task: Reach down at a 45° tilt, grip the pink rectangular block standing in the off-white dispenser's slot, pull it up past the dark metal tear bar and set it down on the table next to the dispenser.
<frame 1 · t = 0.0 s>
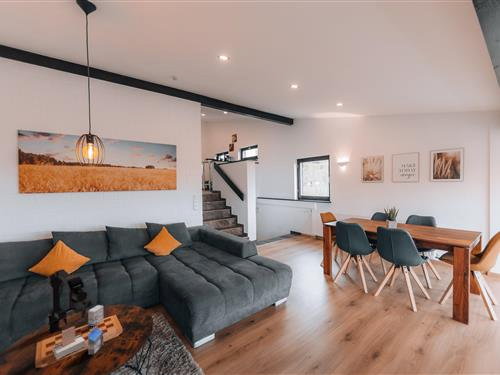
hand: (74, 321, 149), 15 cm above the table, tool pointing down, fingers open, 9 cm apart
dispenser: (68, 349, 144), on the table
ink box: (96, 324, 170), on the table
label tape cartridge: (96, 349, 145), on the table
pink rectangular block: (68, 349, 144), resting in dispenser
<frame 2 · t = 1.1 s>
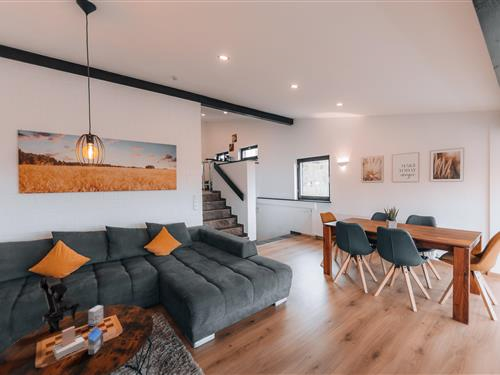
hand: (65, 324, 148), 13 cm above the table, tool tilted 45°, fingers open, 9 cm apart
nothing on the table moved.
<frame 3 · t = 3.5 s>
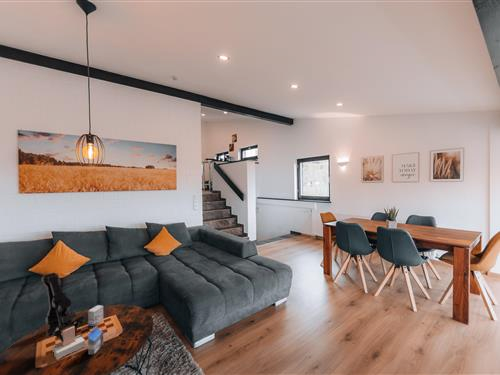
hand: (69, 339, 143), 7 cm above the table, tool tilted 45°, fingers closed on pink rectangular block, 6 cm apart
pink rectangular block: (68, 349, 144), resting in dispenser, touching gripper
everything else where it was.
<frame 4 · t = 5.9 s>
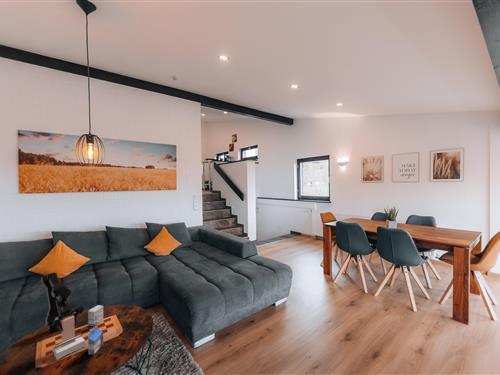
hand: (68, 328, 144), 13 cm above the table, tool tilted 45°, fingers closed on pink rectangular block, 6 cm apart
pink rectangular block: (68, 339, 145), point 6 cm above the table, touching gripper
everything else where it was.
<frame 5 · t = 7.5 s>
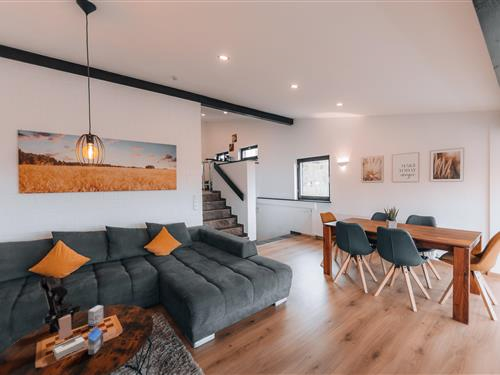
hand: (65, 327, 147), 12 cm above the table, tool tilted 45°, fingers closed on pink rectangular block, 6 cm apart
pink rectangular block: (65, 337, 149), point 5 cm above the table, touching gripper
everything else where it was.
when the fingers open (9 cm above the table, at t = 8.6 s): pink rectangular block drops 1 cm, on the table.
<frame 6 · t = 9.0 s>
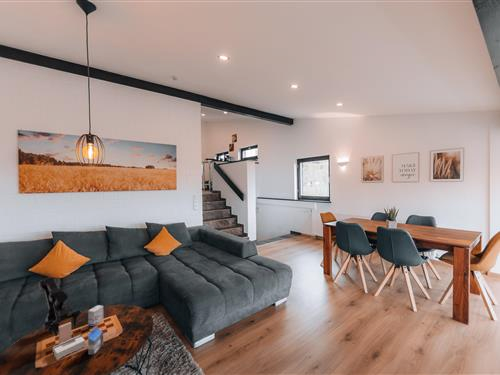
hand: (65, 332, 148), 9 cm above the table, tool tilted 45°, fingers open, 9 cm apart
pink rectangular block: (65, 344, 149), on the table
everything else where it was.
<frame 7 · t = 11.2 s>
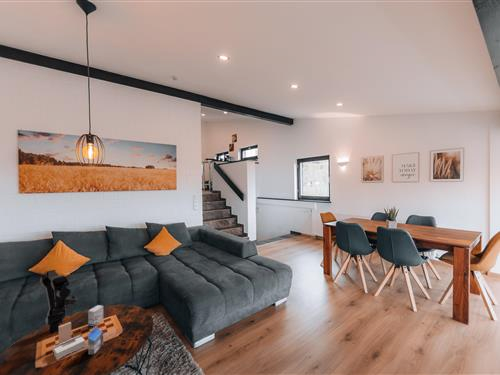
hand: (62, 320, 152), 13 cm above the table, tool pointing down, fingers open, 9 cm apart
nothing on the table moved.
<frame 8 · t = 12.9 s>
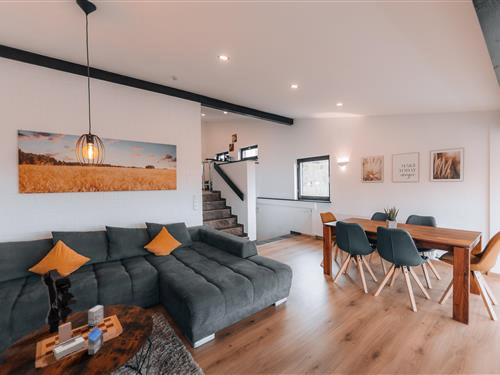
hand: (62, 320, 153), 13 cm above the table, tool pointing down, fingers open, 9 cm apart
nothing on the table moved.
at the end: pink rectangular block inside the target area (1.2 cm from its centre), on the table; pink rectangular block touching table; the gripper is holding nothing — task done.
